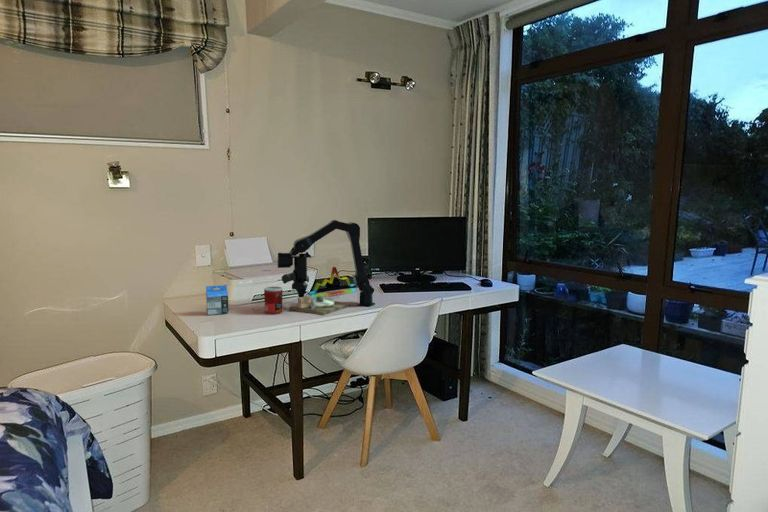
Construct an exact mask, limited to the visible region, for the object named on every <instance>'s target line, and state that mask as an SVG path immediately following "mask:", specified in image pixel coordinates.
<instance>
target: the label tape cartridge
mask: <svg viewBox="0 0 768 512" xmlns="http://www.w3.org/2000/svg"><path fill="white" fill-rule="evenodd" d="M227 286H228V285H227V284H224V285H221V284H220V285H208V286H207V285H206V286H205V290H206V291H205V296H206V298H205V302H206V315H207V316H214V315H215V316H216V315H228V314H229V310H230V309H229V294H228V288H227ZM216 288H217V289H216Z"/></svg>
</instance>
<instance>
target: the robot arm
mask: <svg viewBox="0 0 768 512" xmlns="http://www.w3.org/2000/svg"><path fill="white" fill-rule="evenodd" d="M335 230H339V231H344V232H345V234H346V236H347V238H348V240H349V242H350V248H351V254H352V258H353V264H354V270H355V273H354V274H352V279H353V283H352V284H355V285H354V286H355V287H357V288H358V290H359V302H358V303H356V304H357V306H360V307H362V306H363V307H371V306H374V305H376V302H373V295H374V292H375V288H374V287H373V286H372V285H371V283H370V280H369V277H368V276H367V272H366V271H365V266H364V261H363V255H362V249H361V244H360V239H361V227H360V225H359V224H358V223H355V222H353V221H349V222H343V221H339V220H336V219H332V220H330V222H328V223H327V224H325V225H323V226H322V227H320V228H318V229H317V230H315V231H314V232H312V233H310V234H308V235H306V236H302V237H300V238H298V239H296V240H294V241H293V247H292V248H291V249H290V251H289V252H277V259H276V262H277V269H282V268H284V269H287V268H291V267H292V266H294V267H293V271H292V272H290V273H285V274H283V275H282V276H281V278H280V279H281V281H282V283H283V284H287V283H290V282H292V284H291V290H296V292H297V296H298V298H299V297H304V296H305V294H306V292H305V291H307V289H308V286H309V285H308V284H307V283H309V282H310V277H309V275H308V258H312V255H311V254H310V253H309V251H308V250H309V249H310V248H311V246H313V245H314V244H315V243H316V242H318V241H319V240H321V239H322V238H324V237H326V236H327V235H328V234H331V233H332V232H333V231H335Z"/></svg>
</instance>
